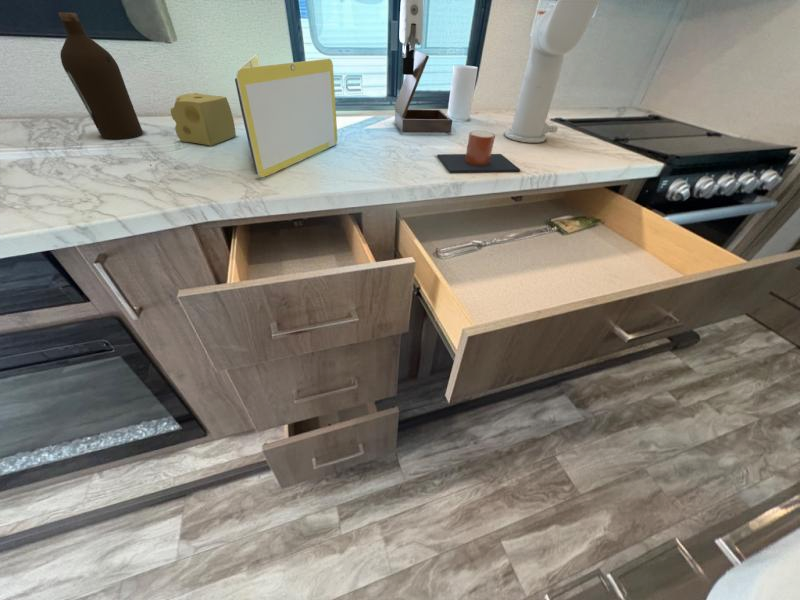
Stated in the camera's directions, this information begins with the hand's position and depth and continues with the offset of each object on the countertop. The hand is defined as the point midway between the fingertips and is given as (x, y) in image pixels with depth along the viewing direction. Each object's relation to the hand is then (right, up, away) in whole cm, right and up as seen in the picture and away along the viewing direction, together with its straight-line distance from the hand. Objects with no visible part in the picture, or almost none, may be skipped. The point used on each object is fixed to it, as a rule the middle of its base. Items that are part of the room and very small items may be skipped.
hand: (407, 74), depth 99 cm
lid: (+1, -2, +2) cm, 3 cm away
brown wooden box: (+5, -11, +11) cm, 16 cm away
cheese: (-54, -23, -8) cm, 60 cm away
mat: (+18, -32, -14) cm, 39 cm away
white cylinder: (+19, -1, +24) cm, 31 cm away
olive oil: (-77, -23, -9) cm, 81 cm away
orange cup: (+17, -32, -14) cm, 39 cm away
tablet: (-28, -30, -14) cm, 44 cm away
